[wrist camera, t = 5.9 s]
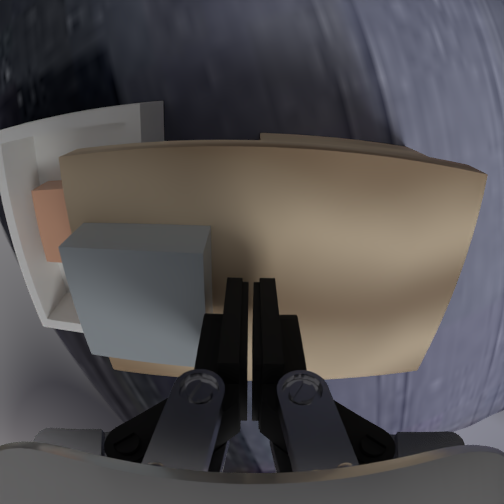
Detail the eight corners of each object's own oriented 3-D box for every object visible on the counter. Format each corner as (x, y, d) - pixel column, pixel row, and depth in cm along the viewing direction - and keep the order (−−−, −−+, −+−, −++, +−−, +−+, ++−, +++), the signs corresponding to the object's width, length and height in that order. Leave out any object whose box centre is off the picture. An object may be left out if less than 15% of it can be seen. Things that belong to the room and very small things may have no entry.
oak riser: (132, 128, 17) (58, 157, 10) (406, 138, 17) (487, 174, 10) (150, 285, 22) (113, 369, 15) (377, 289, 22) (417, 370, 15)
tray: (29, 122, 16) (-9, 133, 12) (163, 100, 16) (139, 103, 12) (65, 295, 22) (43, 326, 19) (178, 303, 23) (167, 341, 19)
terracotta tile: (96, 187, 16) (110, 177, 17) (31, 190, 16) (47, 181, 17) (108, 265, 18) (119, 250, 20) (46, 261, 18) (60, 247, 20)
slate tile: (83, 222, 11) (58, 246, 9) (211, 225, 11) (203, 253, 9) (106, 323, 13) (91, 353, 11) (213, 333, 13) (208, 368, 12)
